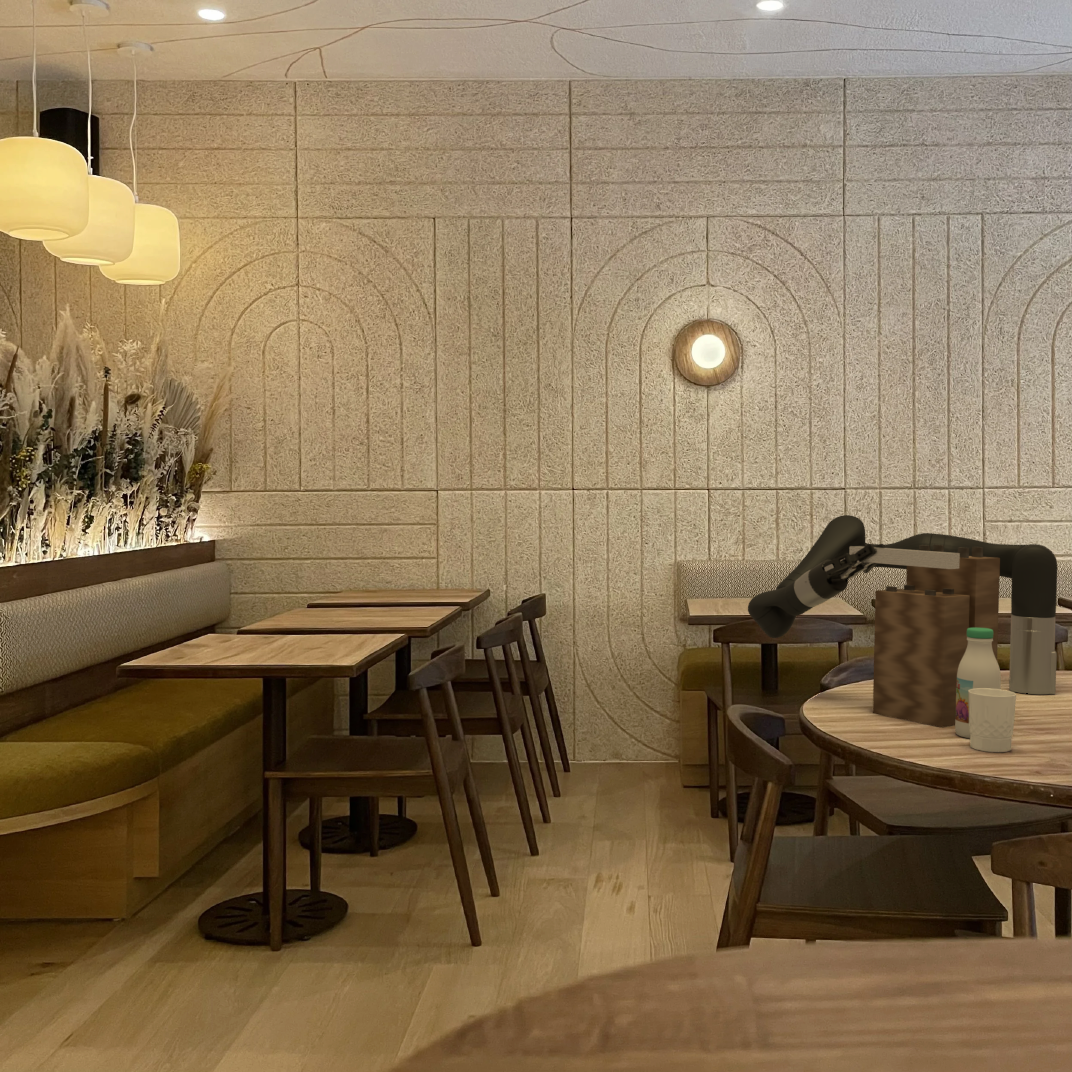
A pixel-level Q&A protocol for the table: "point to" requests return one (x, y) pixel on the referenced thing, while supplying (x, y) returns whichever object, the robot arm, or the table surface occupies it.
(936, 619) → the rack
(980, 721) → the white cup
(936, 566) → the block
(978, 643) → the milk bottle
